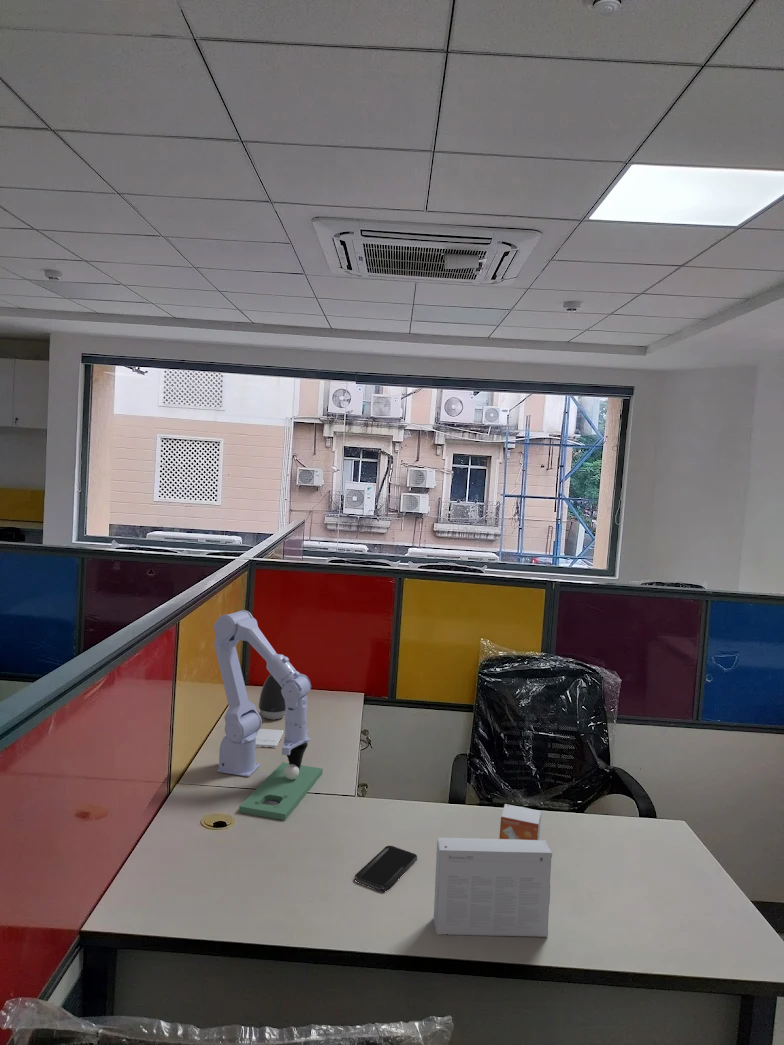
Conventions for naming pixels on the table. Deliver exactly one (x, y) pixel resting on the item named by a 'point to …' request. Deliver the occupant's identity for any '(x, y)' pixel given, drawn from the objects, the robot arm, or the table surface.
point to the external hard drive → (268, 737)
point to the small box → (520, 823)
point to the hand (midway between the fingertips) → (295, 770)
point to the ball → (291, 772)
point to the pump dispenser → (272, 700)
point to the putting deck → (280, 793)
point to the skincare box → (492, 887)
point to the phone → (386, 868)
